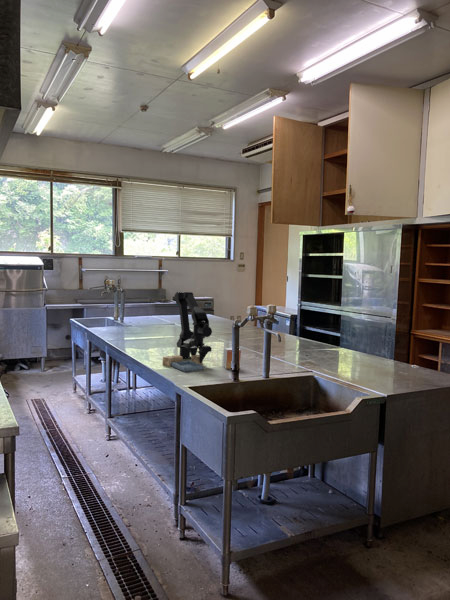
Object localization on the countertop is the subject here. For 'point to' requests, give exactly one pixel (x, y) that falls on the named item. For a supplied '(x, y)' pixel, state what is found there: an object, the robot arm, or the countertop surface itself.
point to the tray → (187, 366)
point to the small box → (229, 357)
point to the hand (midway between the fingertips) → (196, 361)
